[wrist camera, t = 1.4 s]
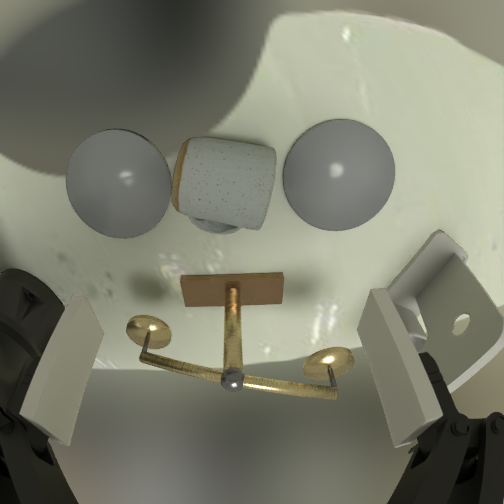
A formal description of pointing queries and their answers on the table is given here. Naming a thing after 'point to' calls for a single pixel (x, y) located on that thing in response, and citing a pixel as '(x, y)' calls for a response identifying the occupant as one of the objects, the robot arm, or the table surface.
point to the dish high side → (339, 175)
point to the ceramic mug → (223, 183)
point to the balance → (237, 336)
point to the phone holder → (447, 310)
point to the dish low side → (118, 183)
